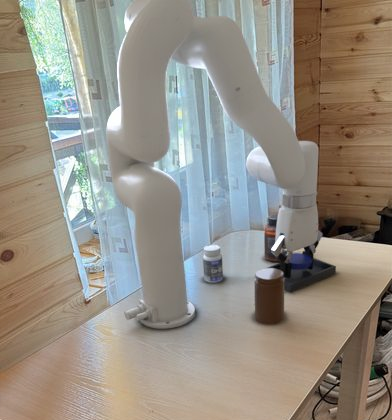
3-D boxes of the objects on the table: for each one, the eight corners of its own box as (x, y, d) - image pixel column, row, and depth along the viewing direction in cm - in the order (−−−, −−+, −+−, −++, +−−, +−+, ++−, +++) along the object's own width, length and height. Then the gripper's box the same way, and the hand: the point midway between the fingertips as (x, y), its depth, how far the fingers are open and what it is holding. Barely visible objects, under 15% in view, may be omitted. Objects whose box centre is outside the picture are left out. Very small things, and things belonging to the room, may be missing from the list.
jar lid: (297, 256, 129) (297, 251, 129) (317, 264, 125) (317, 259, 124) (276, 263, 126) (277, 257, 125) (296, 272, 121) (297, 266, 120)
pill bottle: (213, 285, 126) (211, 252, 122) (200, 279, 129) (198, 248, 125) (227, 278, 129) (225, 246, 124) (214, 273, 132) (212, 242, 127)
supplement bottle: (288, 261, 135) (289, 219, 129) (265, 263, 135) (265, 221, 129) (285, 253, 140) (286, 212, 134) (263, 254, 140) (263, 213, 134)
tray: (290, 292, 120) (290, 284, 119) (258, 278, 128) (258, 270, 127) (335, 273, 127) (336, 266, 126) (302, 261, 135) (302, 253, 134)
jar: (268, 327, 107) (268, 282, 102) (249, 316, 111) (248, 273, 106) (290, 317, 110) (291, 273, 104) (270, 307, 114) (270, 265, 109)
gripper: (313, 188, 124) (310, 258, 133) (259, 205, 116) (259, 277, 125) (338, 194, 118) (332, 266, 128) (282, 212, 110) (280, 287, 120)
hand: (296, 271), depth 126 cm, fingers closed on jar lid, 6 cm apart
